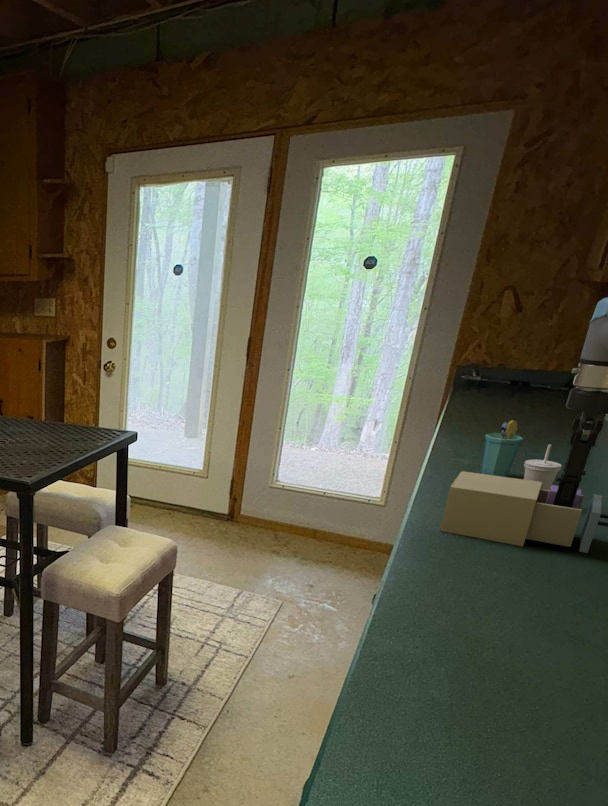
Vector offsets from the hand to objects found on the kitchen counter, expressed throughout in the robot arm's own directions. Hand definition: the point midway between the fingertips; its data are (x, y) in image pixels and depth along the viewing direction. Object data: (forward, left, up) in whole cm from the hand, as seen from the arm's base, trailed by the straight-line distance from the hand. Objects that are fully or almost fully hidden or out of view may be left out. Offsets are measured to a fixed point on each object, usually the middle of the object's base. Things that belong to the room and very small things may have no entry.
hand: (560, 510), depth 120 cm
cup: (+14, -42, -6) cm, 45 cm away
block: (0, 0, 0) cm, 0 cm away
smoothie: (+5, -23, -6) cm, 24 cm away
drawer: (-2, 0, -5) cm, 6 cm away
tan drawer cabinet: (+11, 0, -6) cm, 12 cm away
